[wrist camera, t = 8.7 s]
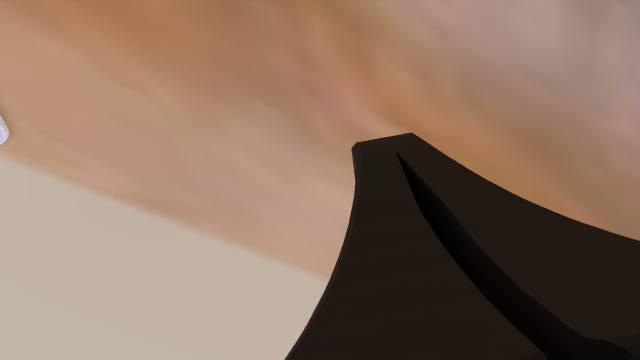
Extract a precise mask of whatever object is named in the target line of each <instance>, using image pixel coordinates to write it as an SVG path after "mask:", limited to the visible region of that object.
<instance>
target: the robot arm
mask: <svg viewBox="0 0 640 360" xmlns="http://www.w3.org/2000/svg"><path fill="white" fill-rule="evenodd" d="M8 136H9V131H8V128H7V126H6V124H5V123H4V121H3V119H2V117H1V115H0V144H2V143H3V142H4V141H5V140H6V139H7V138H8ZM352 157H353V165H354V174H355V193H354V200H353V205H352V210H351V215H350V220H349V225H348V229H347V232H346V236H345V239H344V243H343V246H342V249H341V252H340V255H339V257H338V260H337V263H336V265H335V268H334V270H333V273H332V275H331V278H330V280H329V282H328V285H327V287H326V289H325V291H324V293H323V295H322V297H321V299H320V301H319V303H318V305H317V307H316V308H315V310H314V312H313V314H312V316H311V318H310V320H309V322H308V324H307V326H306V327H305V329H304V331H303V332H302V334H301V336H300V337H299V338H298V340H297V342H296V343H295V345H294V346H293V348H292V349H291V351H290V352H289V354H288V355H287V357H286V358H285V360H640V241H638V240H635V239H631V238H628V237H624V236H621V235H618V234H614V233H611V232H609V231H606V230H603V229H600V228H597V227H594V226H591V225H588V224H585V223H582V222H579V221H576V220H574V219H571V218H568V217H566V216H563V215H560V214H558V213H556V212H553V211H551V210H548V209H546V208H544V207H541V206H539V205H537V204H534V203H532V202H530V201H528V200H525V199H523V198H521V197H519V196H517V195H515V194H513V193H511V192H509V191H507V190H505V189H503V188H501V187H500V186H498V185H496V184H494V183H492V182H490V181H488V180H486V179H485V178H483V177H481V176H479V175H478V174H476V173H474V172H473V171H471V170H469V169H467V168H466V167H464V166H463V165H461V164H459V163H458V162H456V161H455V160H453V159H451V158H450V157H448V156H447V155H445V154H444V153H442V152H441V151H439V150H438V149H436V148H435V147H433V146H432V145H430V144H429V143H427V142H426V141H424V140H423V139H421V138H420V137H418V136H416V135H415V134H413V133H406V134H401V135H395V136H390V137H384V138H379V139H373V140H368V141H363V142H357V143H356V144H355V145H354V146H353V147H352Z"/></svg>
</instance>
